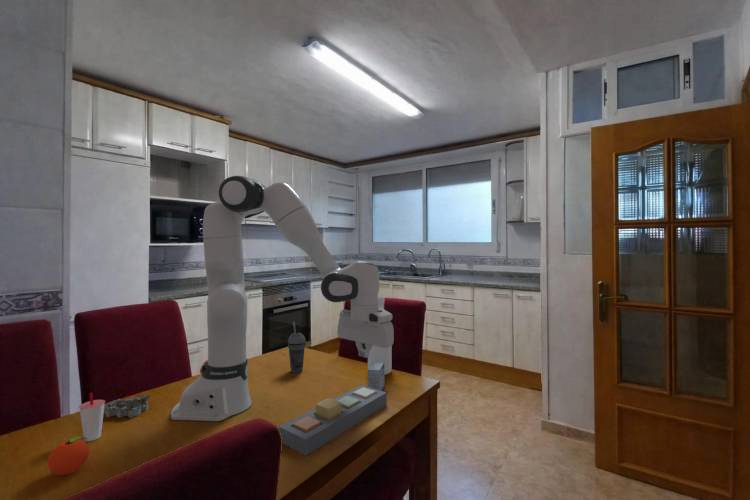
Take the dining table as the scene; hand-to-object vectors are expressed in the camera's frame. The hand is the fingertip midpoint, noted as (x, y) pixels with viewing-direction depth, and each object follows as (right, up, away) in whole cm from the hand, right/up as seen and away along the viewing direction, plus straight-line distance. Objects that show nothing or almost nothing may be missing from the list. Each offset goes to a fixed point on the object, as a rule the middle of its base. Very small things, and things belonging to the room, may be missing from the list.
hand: (363, 356), depth 110 cm
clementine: (-64, -16, -32) cm, 74 cm away
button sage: (-5, -15, -6) cm, 17 cm away
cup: (-70, -16, -18) cm, 74 cm away
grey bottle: (+5, -16, +31) cm, 35 cm away
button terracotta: (-14, -15, -19) cm, 28 cm away
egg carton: (-71, -16, -4) cm, 73 cm away
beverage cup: (-28, -16, +31) cm, 45 cm away
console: (-7, -16, -9) cm, 20 cm away
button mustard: (-9, -13, -13) cm, 20 cm away
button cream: (0, -15, 0) cm, 15 cm away
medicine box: (+4, -16, +12) cm, 21 cm away
